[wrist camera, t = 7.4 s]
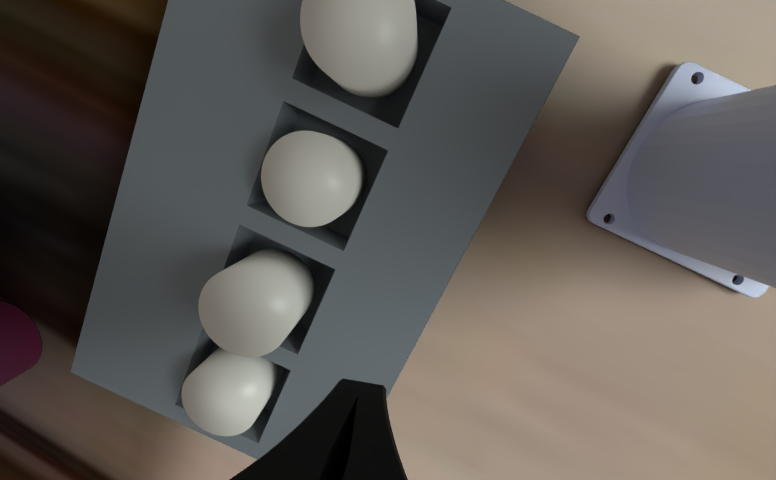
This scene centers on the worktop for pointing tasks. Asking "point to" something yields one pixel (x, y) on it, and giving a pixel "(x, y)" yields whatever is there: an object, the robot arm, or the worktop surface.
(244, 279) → the button
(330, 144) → the button
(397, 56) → the button
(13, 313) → the cup
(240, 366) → the button
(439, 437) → the worktop surface
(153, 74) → the board
